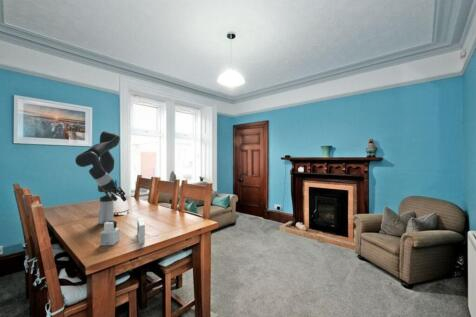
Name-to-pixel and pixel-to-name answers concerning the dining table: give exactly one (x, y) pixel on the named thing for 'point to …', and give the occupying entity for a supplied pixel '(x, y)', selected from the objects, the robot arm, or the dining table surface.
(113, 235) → the container
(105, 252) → the dining table surface
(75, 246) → the dining table surface
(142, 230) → the plate
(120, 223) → the dining table surface
